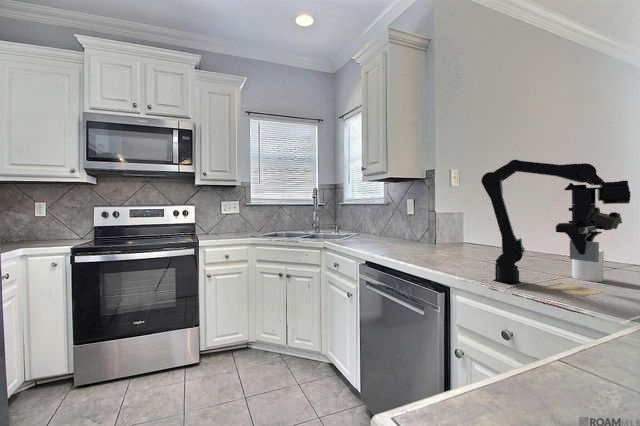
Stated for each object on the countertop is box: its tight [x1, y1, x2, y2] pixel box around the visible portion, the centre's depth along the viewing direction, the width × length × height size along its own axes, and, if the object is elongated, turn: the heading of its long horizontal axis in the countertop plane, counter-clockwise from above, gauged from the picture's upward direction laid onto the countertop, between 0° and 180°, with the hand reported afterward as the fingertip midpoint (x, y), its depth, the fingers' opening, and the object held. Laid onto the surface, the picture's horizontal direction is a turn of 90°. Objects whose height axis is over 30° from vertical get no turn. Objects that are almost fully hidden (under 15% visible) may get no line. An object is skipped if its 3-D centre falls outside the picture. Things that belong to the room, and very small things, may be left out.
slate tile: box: [569, 239, 600, 262], centre depth 99 cm, size 7×2×6 cm, turn 24°
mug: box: [571, 249, 605, 283], centre depth 114 cm, size 9×12×11 cm
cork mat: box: [541, 282, 604, 298], centre depth 100 cm, size 12×11×1 cm
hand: (583, 254), depth 99 cm, fingers closed on slate tile, 2 cm apart
